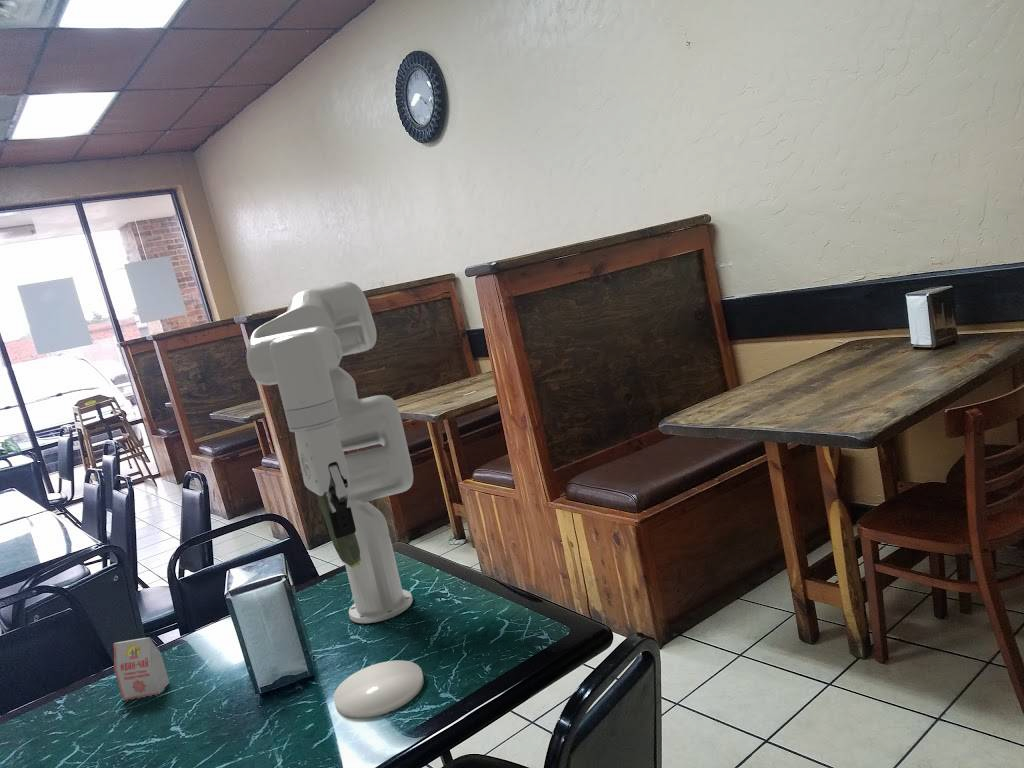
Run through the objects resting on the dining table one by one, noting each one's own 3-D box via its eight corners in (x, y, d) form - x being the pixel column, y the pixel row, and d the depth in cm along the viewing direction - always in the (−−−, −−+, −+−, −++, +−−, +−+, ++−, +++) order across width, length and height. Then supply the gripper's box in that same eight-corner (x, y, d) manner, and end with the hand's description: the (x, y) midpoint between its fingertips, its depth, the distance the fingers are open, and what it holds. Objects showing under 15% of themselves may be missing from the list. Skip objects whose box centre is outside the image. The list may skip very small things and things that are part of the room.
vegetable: (357, 573, 117) (325, 446, 114) (331, 577, 118) (299, 450, 115) (368, 561, 121) (338, 438, 118) (342, 565, 122) (312, 442, 119)
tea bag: (134, 689, 141) (119, 638, 139) (169, 683, 140) (154, 632, 139) (123, 700, 137) (107, 648, 136) (159, 694, 137) (144, 642, 135)
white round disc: (324, 692, 126) (323, 686, 125) (404, 657, 132) (403, 651, 132) (350, 730, 113) (349, 722, 113) (437, 689, 120) (436, 682, 120)
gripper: (275, 417, 121) (303, 528, 124) (301, 427, 107) (332, 553, 110) (322, 405, 125) (348, 513, 128) (353, 413, 110) (382, 535, 113)
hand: (340, 530), depth 119 cm, fingers closed on vegetable, 4 cm apart
